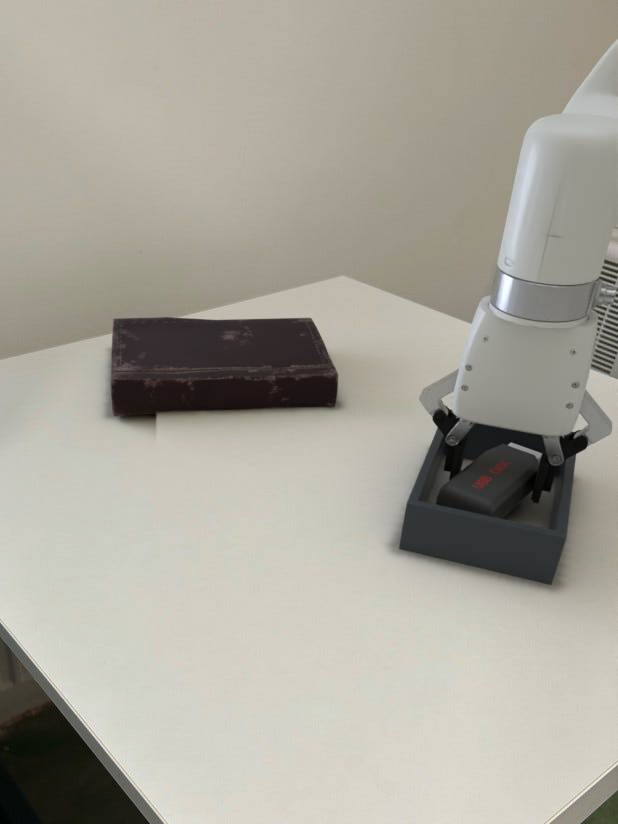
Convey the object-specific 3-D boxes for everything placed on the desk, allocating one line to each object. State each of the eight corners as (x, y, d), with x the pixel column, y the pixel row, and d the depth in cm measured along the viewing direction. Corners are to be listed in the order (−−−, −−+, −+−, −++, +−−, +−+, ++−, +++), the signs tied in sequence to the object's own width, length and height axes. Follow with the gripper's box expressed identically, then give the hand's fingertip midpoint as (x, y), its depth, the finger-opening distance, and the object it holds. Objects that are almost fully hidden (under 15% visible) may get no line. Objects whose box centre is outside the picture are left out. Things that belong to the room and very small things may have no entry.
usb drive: (434, 508, 73) (439, 482, 71) (496, 457, 80) (502, 432, 79) (488, 531, 70) (495, 504, 69) (548, 476, 77) (555, 450, 76)
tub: (436, 456, 86) (445, 408, 82) (563, 482, 82) (578, 432, 78) (397, 556, 72) (406, 503, 68) (548, 592, 68) (566, 538, 65)
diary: (335, 414, 93) (340, 373, 90) (113, 421, 91) (110, 380, 88) (307, 348, 108) (310, 311, 105) (115, 353, 106) (112, 315, 103)
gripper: (661, 293, 64) (597, 486, 75) (438, 264, 70) (407, 448, 80) (664, 327, 59) (594, 530, 69) (421, 293, 64) (390, 487, 75)
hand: (494, 485), depth 75 cm, fingers closed on usb drive, 6 cm apart
